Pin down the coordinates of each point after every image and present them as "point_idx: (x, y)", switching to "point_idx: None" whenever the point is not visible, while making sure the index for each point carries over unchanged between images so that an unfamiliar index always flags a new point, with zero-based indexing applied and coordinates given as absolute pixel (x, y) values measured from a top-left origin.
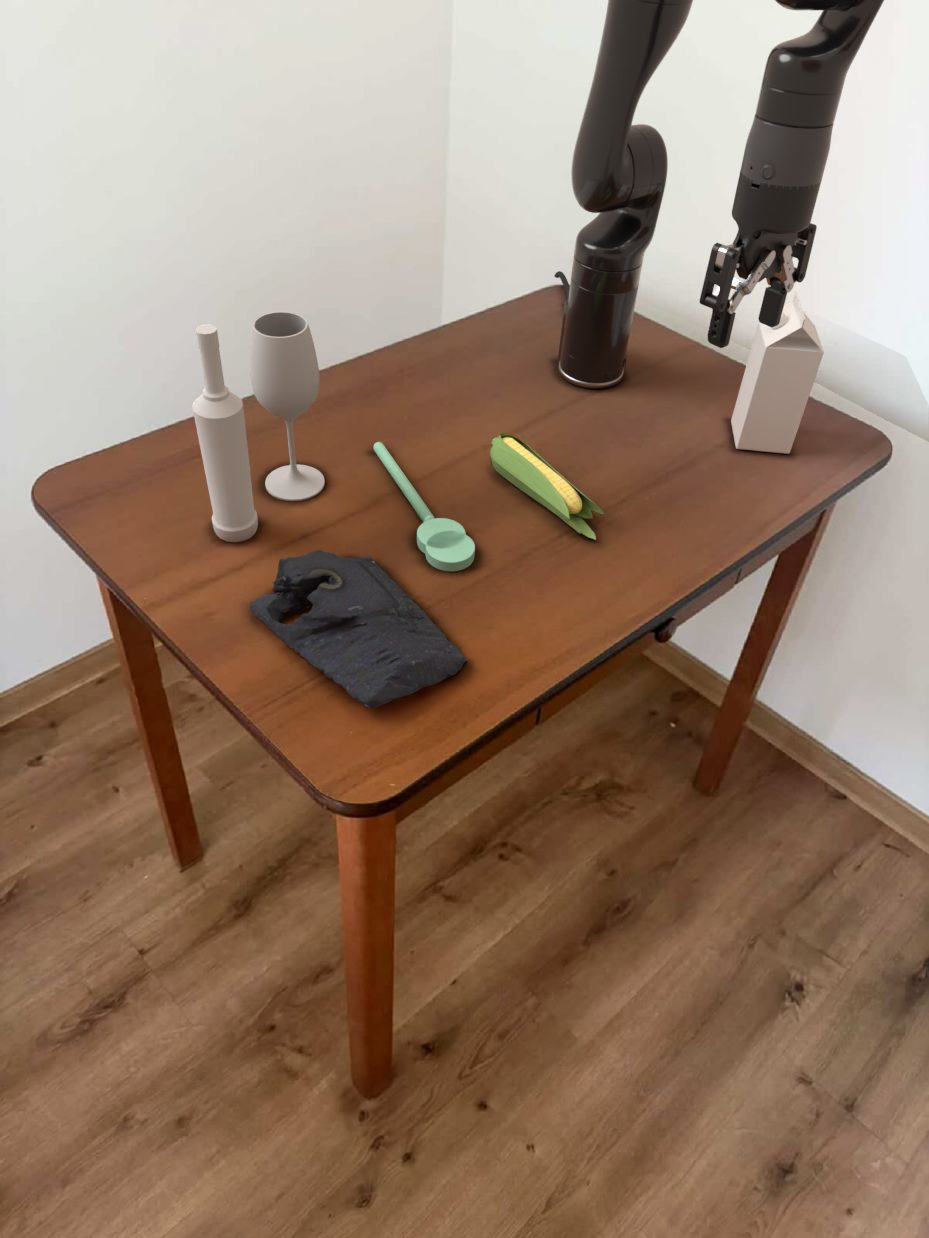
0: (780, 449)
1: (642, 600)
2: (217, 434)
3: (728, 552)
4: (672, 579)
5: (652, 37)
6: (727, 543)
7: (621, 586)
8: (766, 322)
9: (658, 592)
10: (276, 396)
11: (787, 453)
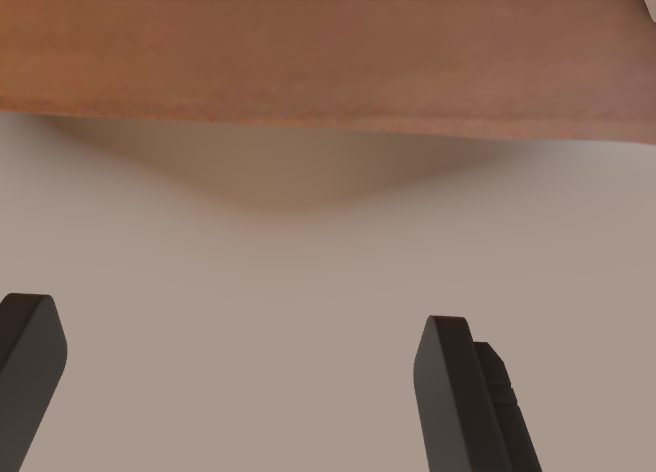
0: (647, 4)
1: (22, 80)
2: None
3: (253, 108)
4: (109, 83)
5: None
6: (272, 94)
7: (4, 31)
8: (423, 349)
9: (62, 87)
10: None
11: (651, 16)
